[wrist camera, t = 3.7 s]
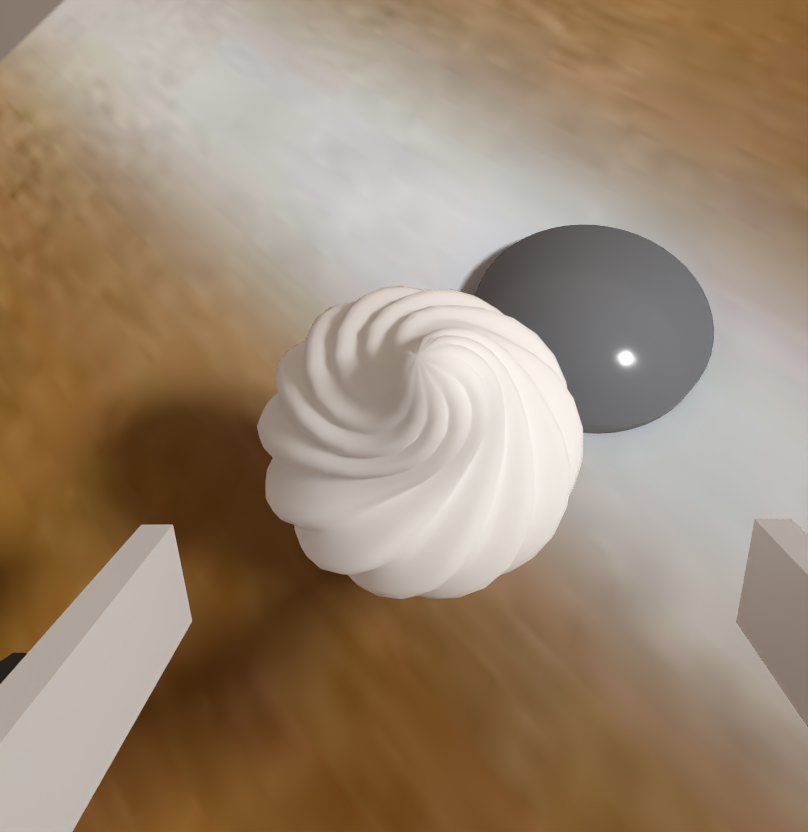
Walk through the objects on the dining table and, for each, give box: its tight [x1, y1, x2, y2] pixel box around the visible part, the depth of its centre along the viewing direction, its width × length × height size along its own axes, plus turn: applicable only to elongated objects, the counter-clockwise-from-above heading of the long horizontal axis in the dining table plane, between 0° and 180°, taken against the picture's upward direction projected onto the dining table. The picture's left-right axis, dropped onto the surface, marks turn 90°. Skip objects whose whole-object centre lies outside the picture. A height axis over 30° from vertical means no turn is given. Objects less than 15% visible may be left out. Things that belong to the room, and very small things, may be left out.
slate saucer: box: [476, 225, 714, 433], centre depth 29 cm, size 11×11×1 cm
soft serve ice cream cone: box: [257, 286, 583, 599], centre depth 19 cm, size 8×8×16 cm
